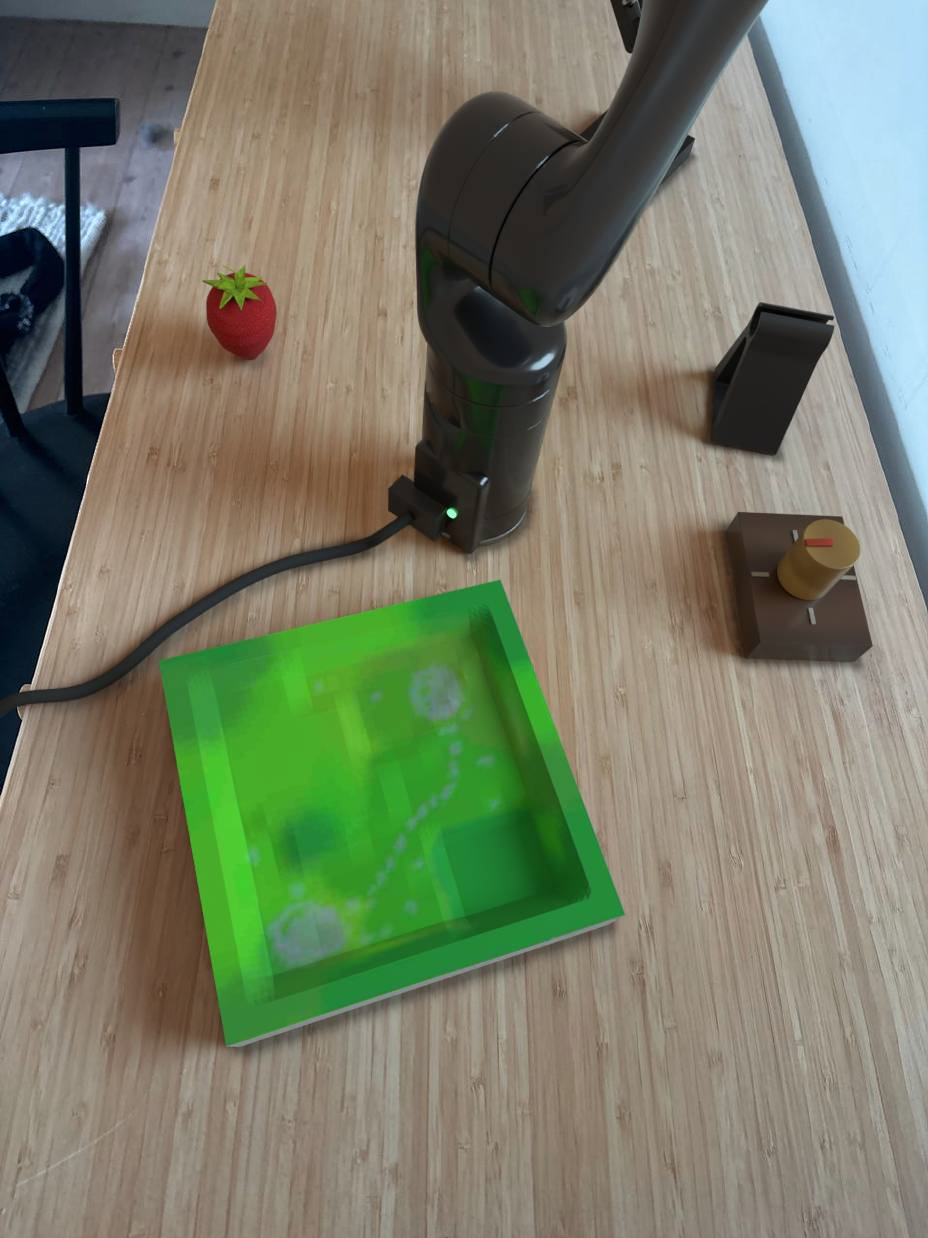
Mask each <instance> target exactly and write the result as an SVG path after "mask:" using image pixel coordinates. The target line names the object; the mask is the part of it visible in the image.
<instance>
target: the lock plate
mask: <svg viewBox="0 0 928 1238" xmlns="http://www.w3.org/2000/svg"><path fill="white" fill-rule="evenodd" d="M823 519H828V520H833V521H837V522H839V523H841V524H843V525H845V522H844V518H843V516H840V515H838V516H837V515H819V514H818V515H817V514H798V513H797V514H796V513H795V514H794V513H775V512H774V513H773V512H772V513H771V512H751V511H737V512H736V514H735V516H734V518H733V519H732V520H731V522H730V523H729V525H728V527H727V528H726V529H725V537H726V543H727V548H728V556H729V562H730V568H731V573H732V581H733V586H734V593H735V599H736V602H737V603H736V605H737V610H738V611H737V612H738V616H739V617H738V618H739V622H740V629H741V635H742V642H743V647H744V654H745V659H753V660H755V659H756V660H757V659H759V660H786V661H787V660H788V661H789V660H791V661H816V662H817V661H819V662H821V661H822V662H851V663H853V662H854V663H855V662H856V661H857V660H858V659H860V658H861V657H862V656H863V655H864V654H866V653H867V652H868V651H869V650H871V648H873V646H874V645H873V641H872V640H873V639H872V636H871V632H870V627H869V623H868V619H867V614H866V611H865V606H864V602H863V597H862V593H861V590H860V585H859V581H858V576H857V573H856V570H855V564H854V565H853V566H852V567H851V568H850V569H849V570H848V571H847V573H846V574H845V575H844V576H843V577H842V578H841V579H840V580H839V581H838V582H837V583H836V584H835V585H834V586H833V587H832V588H831V589H830V590H829V591H828V592H827V594H826V595H824V596H823V597H821V598H819V599H815V600H804V599H800V598H797V597H795V596H793V595H791V594H790V593H789V592H787V591H786V590H785V589H784V588H783V586H782V585H781V583H780V581H779V579H778V576H777V566H778V563H779V561H780V560H781V559H782V557H783V556H784V555H785V554H786V552H787V551H788V550H789V549H790V547H791V546H792V545H793V544H794V542H795V541H796V540H797V539H798V537H799V536H800V535H801V533H802V532H803V531H804V530H805V528H806V527H807V526H808V525H809V524H811V523H812V522H814V521H817V520H823Z"/></svg>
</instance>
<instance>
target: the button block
mask: <svg viewBox="0 0 928 1238" xmlns="http://www.w3.org/2000/svg"><path fill="white" fill-rule="evenodd" d="M607 111H608V109H606V110H604V112H603V113H602V114H601V115H599V117H597V118H596V119H595V120H594V121H593V122H592V123H591V124H590V125H588V126H587V128H585V129H584V130H583V131H582V132H581V133H580V134H578V135H579V136H581V137H582V138H584V139H586V140H587V141H590V140H591V139H592V137H593V136H594V134H595V132H596V131H597V129H598V127H599V126H600V124H601V122H602V120H603V119H604V117H605V115H606V113H607ZM695 141H696V137H694V136H692V135H689V134H688V135H687V137H686V138H685V140H684V142H683V144H682V146H681V147H680V149H679V151H678V153H677V155H676V156H675V158H674V160H673V162H672V164H671V165H670V167H669V169H668V171H667V173H666V174H665V176H664V178H663V180H662V181H661V183H660V185H659V187H658V189H659V188H660V187H661V186H662V185H663V184H664V183H665V182H666V181H667V180H668V179H669V178H670V177H671V176H672V175H673V174H674V173H675V172H676V171H677V170H678V169H679V167H681V166H682V165H683V164H684V162H686V161H687V160H688V159H689V158H690V156H691V153H692V150H693V147H694V144H695Z"/></svg>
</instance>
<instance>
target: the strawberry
mask: <svg viewBox="0 0 928 1238" xmlns="http://www.w3.org/2000/svg"><path fill="white" fill-rule="evenodd" d="M246 265H247V264H246V263H245V264H244V265H243V266H241V268H240V269H238V271H237V272H236V271H235V270H233V269H231V268H229V267H227V266H226V265H224V264H223V265H222V267H223V268H225V269H227V270H229V271H231V272H232V273H228V274H226V275H225V274H222V273H220V272H217V276H218V277H219V278H220V279H202V283H204V284H207V285H209V286H211V289H210V290H209V291H208V294H207V296H206V302H205V310H206V322H207V326H208V328H209V330H210V332H211V333H212V334H213V336H214V338H215V339H216V340H217V342H218V343H219V345H220V346H221V347H222V348H223V349H224V350H225V351H227V352H229V353H230V354H233V355H235V356H237V357H238V358H242V359H245V360H246V359H247V360H250V361H253V360H256V359H257V358H258V357H259V356H260V355H262V353H263V352H264V351H265V350H266V348H267V347H268V345H269V344H270V343H271V341H272V339H273V336H274V334H275V328H276V322H277V315H278V310H277V303H276V301H275V299H274V296H273V293H272V291H271V289H270V287H269V286H268V283H267V282H265V281H264V280H263V278H264V277H263V276H257V275H254V274H251V273H248V272H246Z"/></svg>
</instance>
